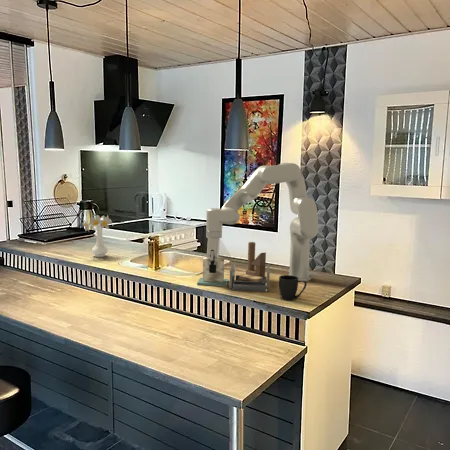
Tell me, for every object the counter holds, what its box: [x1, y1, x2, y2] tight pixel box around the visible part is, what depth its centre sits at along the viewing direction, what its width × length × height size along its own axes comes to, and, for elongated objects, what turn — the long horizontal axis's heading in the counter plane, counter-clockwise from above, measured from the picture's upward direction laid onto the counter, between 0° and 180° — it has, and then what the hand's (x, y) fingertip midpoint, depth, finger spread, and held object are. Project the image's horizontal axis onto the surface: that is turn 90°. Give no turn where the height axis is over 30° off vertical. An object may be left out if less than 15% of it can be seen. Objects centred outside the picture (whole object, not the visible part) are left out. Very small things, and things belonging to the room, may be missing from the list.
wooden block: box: [245, 241, 267, 277], centre depth 226 cm, size 4×11×18 cm, turn 39°
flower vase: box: [81, 214, 114, 258], centre depth 267 cm, size 13×18×25 cm
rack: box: [229, 261, 271, 293], centre depth 212 cm, size 18×18×9 cm
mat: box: [196, 277, 229, 287], centre depth 216 cm, size 14×10×1 cm
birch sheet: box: [202, 257, 225, 282], centre depth 215 cm, size 10×2×11 cm, turn 85°
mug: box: [278, 274, 308, 302], centre depth 192 cm, size 8×12×10 cm
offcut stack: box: [237, 273, 263, 282], centre depth 216 cm, size 12×5×4 cm, turn 58°
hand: (213, 271), depth 215 cm, fingers open, 4 cm apart
